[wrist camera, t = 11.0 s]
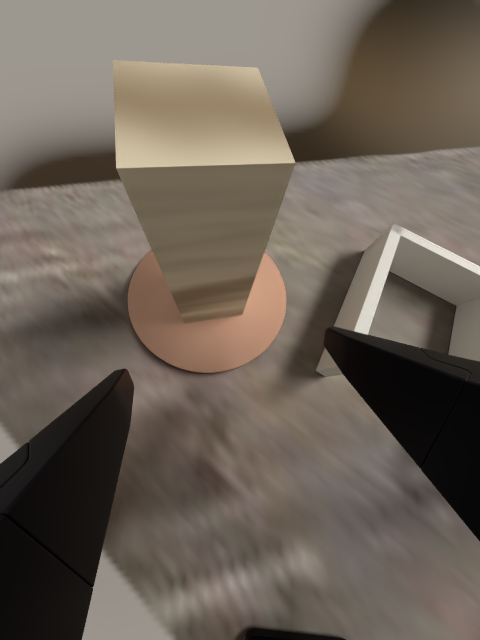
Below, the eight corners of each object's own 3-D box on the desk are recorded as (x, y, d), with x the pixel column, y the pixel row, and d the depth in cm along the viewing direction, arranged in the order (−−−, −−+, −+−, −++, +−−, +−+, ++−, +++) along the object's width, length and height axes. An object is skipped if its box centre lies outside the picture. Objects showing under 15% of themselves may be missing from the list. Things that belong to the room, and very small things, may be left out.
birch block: (242, 314, 18) (295, 162, 6) (184, 323, 18) (116, 167, 5) (231, 266, 20) (258, 67, 8) (178, 272, 19) (113, 60, 7)
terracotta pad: (105, 356, 17) (101, 355, 16) (157, 221, 21) (155, 216, 21) (276, 386, 17) (278, 386, 17) (289, 249, 22) (291, 245, 22)
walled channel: (445, 444, 17) (508, 458, 14) (315, 370, 18) (341, 364, 14) (466, 303, 22) (517, 285, 19) (364, 250, 23) (393, 223, 20)
